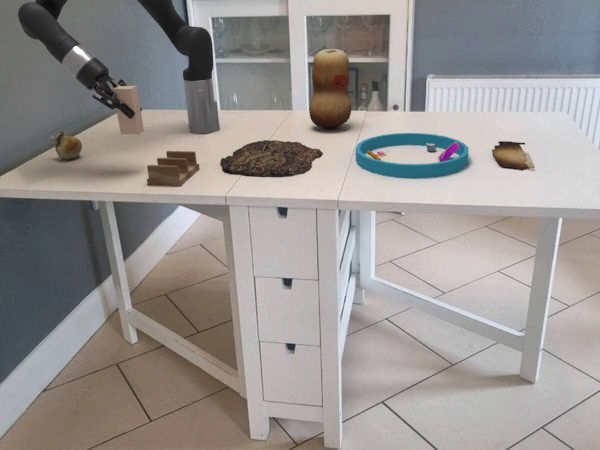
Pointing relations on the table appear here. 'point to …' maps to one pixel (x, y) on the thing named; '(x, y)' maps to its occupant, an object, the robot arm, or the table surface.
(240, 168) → the stone relief
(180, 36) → the robot arm
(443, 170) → the teal plastic ring
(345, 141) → the table surface
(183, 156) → the rack
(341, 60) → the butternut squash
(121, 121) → the clay block
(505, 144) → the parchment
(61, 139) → the onion
